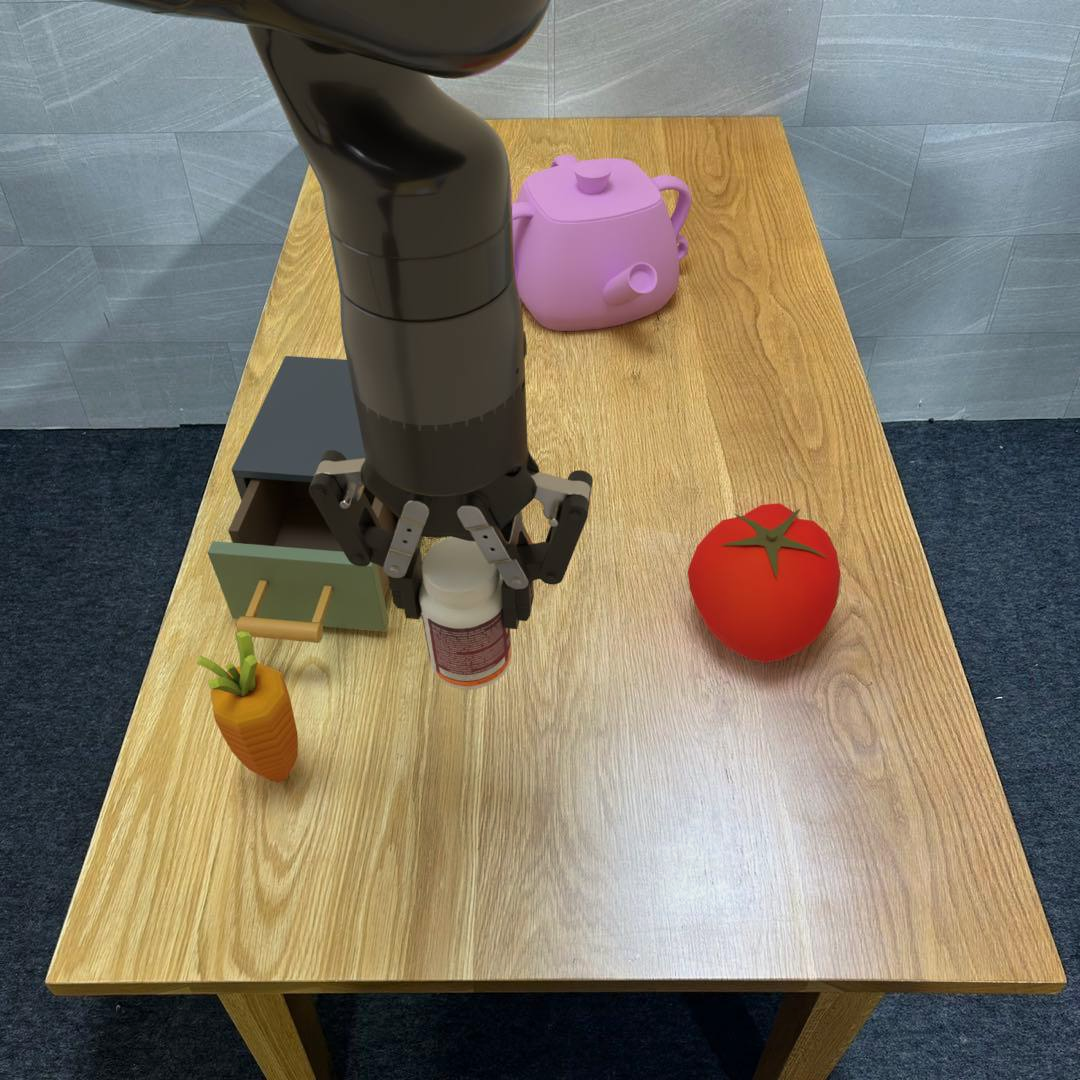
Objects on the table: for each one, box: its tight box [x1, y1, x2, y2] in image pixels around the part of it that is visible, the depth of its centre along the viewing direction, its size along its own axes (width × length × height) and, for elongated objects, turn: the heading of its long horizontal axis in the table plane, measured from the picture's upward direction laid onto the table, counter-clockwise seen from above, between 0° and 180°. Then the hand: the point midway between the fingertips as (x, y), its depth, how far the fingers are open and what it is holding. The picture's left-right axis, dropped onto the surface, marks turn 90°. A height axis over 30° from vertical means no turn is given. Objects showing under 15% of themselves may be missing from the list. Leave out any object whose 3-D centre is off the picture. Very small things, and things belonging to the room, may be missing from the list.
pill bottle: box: [419, 537, 512, 691], centre depth 57 cm, size 5×5×8 cm
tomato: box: [687, 502, 841, 663], centre depth 78 cm, size 11×13×10 cm
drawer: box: [207, 478, 398, 644], centre depth 81 cm, size 18×12×8 cm
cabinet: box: [231, 355, 423, 549], centre depth 88 cm, size 15×14×10 cm
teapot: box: [512, 154, 693, 332], centre depth 108 cm, size 19×21×14 cm
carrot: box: [197, 631, 299, 783], centre depth 67 cm, size 5×5×15 cm
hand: (465, 610), depth 57 cm, fingers closed on pill bottle, 4 cm apart
